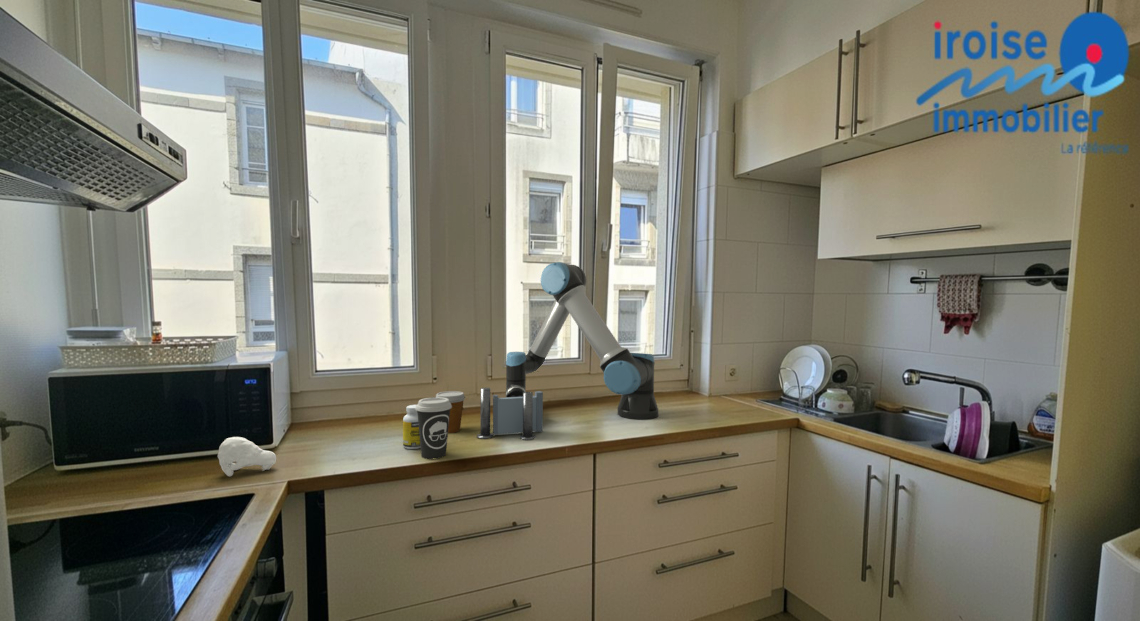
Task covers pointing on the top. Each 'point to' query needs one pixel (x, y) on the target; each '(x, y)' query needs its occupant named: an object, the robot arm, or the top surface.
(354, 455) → the top surface
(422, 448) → the coffee cup
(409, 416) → the pill bottle
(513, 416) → the gate
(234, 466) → the white lumpy piece
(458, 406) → the disposable coffee cup
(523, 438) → the post
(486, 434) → the hinge post
